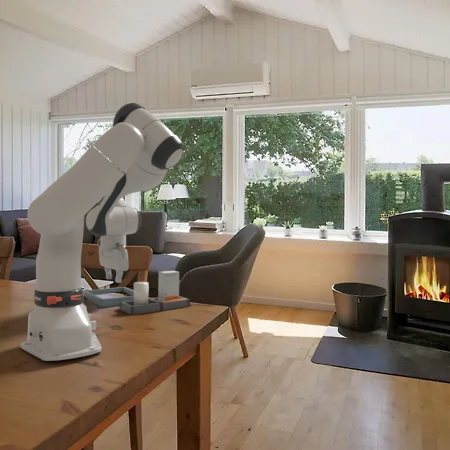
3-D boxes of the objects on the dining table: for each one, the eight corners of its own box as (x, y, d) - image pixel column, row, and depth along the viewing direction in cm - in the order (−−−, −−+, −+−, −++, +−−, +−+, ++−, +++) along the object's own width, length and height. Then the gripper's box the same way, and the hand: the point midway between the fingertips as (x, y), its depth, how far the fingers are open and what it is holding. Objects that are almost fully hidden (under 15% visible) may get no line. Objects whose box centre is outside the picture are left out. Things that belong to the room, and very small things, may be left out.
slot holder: (190, 306, 156) (190, 298, 156) (130, 314, 144) (130, 305, 144) (177, 302, 164) (177, 294, 164) (119, 309, 152) (119, 300, 152)
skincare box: (163, 308, 153) (163, 273, 152) (157, 306, 156) (157, 271, 156) (179, 306, 156) (179, 271, 156) (173, 304, 160) (173, 270, 159)
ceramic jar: (151, 310, 150) (150, 283, 150) (137, 312, 148) (137, 284, 147) (144, 307, 154) (144, 281, 154) (131, 309, 152) (131, 282, 151)
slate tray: (145, 303, 161) (145, 294, 161) (101, 308, 153) (101, 299, 152) (124, 294, 178) (124, 286, 178) (83, 298, 169) (83, 290, 169)
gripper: (133, 243, 158) (133, 283, 158) (112, 240, 175) (112, 276, 175) (115, 244, 154) (115, 285, 155) (95, 241, 171) (96, 277, 172)
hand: (113, 280), depth 165 cm, fingers open, 8 cm apart
